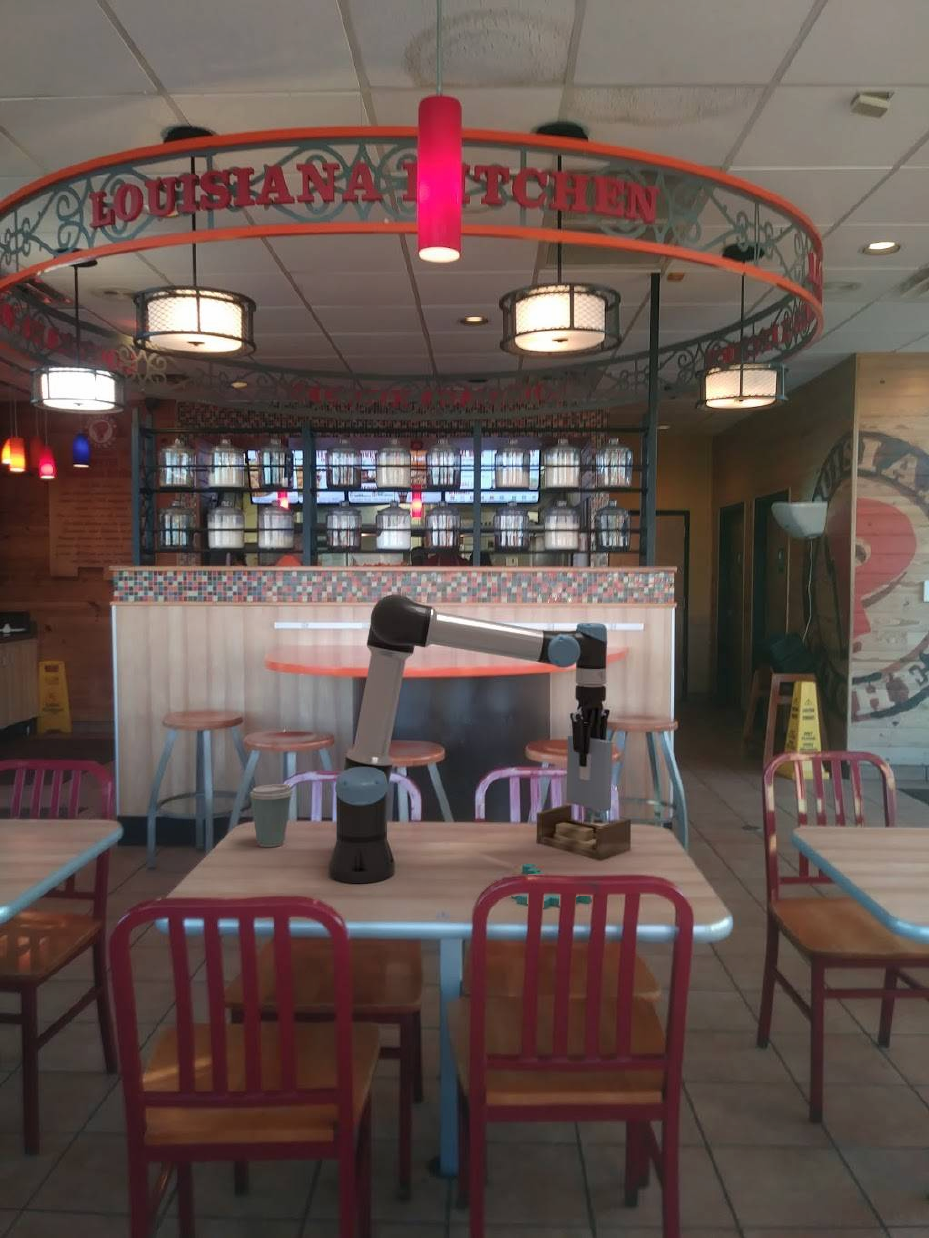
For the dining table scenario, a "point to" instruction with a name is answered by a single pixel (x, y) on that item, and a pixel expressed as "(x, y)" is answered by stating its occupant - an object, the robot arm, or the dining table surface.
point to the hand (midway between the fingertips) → (588, 778)
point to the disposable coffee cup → (270, 813)
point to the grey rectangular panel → (599, 785)
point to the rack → (607, 837)
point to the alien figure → (549, 899)
